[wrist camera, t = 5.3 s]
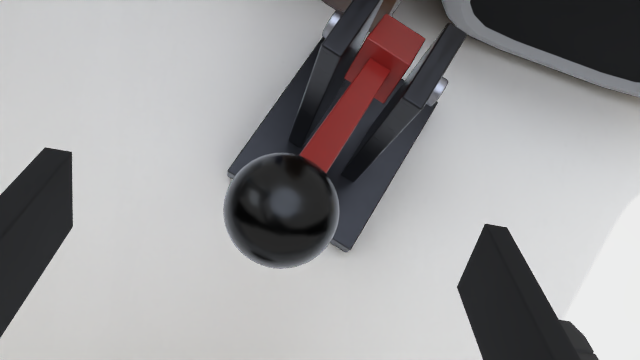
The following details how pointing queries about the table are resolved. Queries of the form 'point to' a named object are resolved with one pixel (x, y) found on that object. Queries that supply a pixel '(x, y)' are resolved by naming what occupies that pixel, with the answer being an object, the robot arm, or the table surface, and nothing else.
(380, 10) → the dark brown block
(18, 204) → the robot arm
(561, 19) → the alarm clock
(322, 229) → the clamp lever
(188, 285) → the table surface
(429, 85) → the toggle clamp
